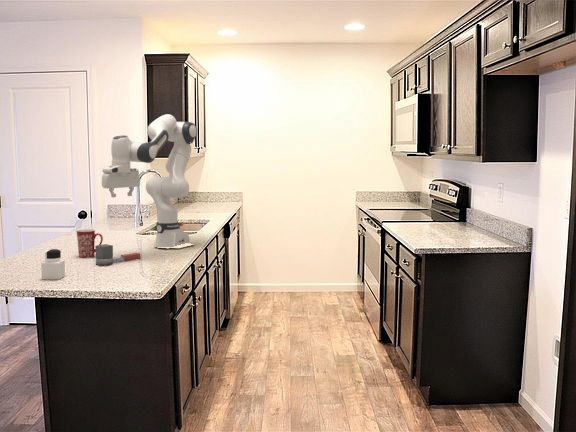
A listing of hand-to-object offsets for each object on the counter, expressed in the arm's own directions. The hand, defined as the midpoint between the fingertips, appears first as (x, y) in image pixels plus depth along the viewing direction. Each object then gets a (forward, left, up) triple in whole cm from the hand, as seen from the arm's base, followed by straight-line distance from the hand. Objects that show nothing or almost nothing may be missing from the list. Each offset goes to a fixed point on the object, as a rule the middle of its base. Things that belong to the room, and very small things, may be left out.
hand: (121, 196), depth 277 cm
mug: (+10, -13, -31) cm, 35 cm away
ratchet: (+8, +8, -31) cm, 33 cm away
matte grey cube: (+16, +8, -28) cm, 33 cm away
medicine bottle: (+46, +16, -31) cm, 58 cm away
